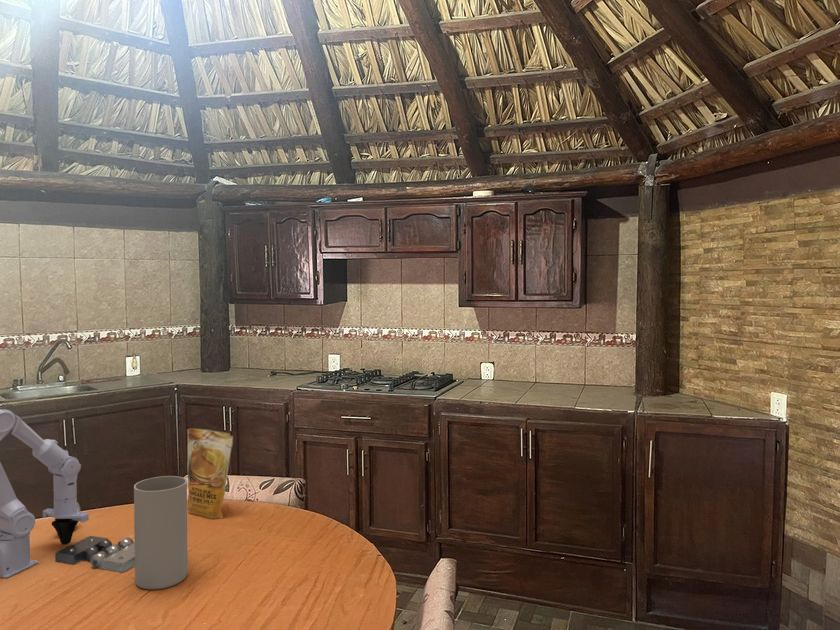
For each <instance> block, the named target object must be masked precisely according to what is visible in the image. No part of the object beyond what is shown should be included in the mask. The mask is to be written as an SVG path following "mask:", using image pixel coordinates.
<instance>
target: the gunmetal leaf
mask: <svg viewBox="0 0 840 630" xmlns="http://www.w3.org/2000/svg"><path fill="white" fill-rule="evenodd" d="M112 545H113V542H112V541H111V540H110V539H109V538H107V537H101V536H95V535H89V536H87V537H85V538H83V539H81V540H79V541H75V543H72V544H69V546H66V547H64V548H62V549H60V550H57V551H56V552H55V554H54V556H55V558H54V559H55V560H54V561H55V563H61V564H68V565H76V564H78V563H80V562H83V561H84V562H90V558H91V557H92V556H93V555H95V554H96V553H98V552H100V551H103V552H104V551H105V549H106V548H108V547H110V546H112Z"/></svg>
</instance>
